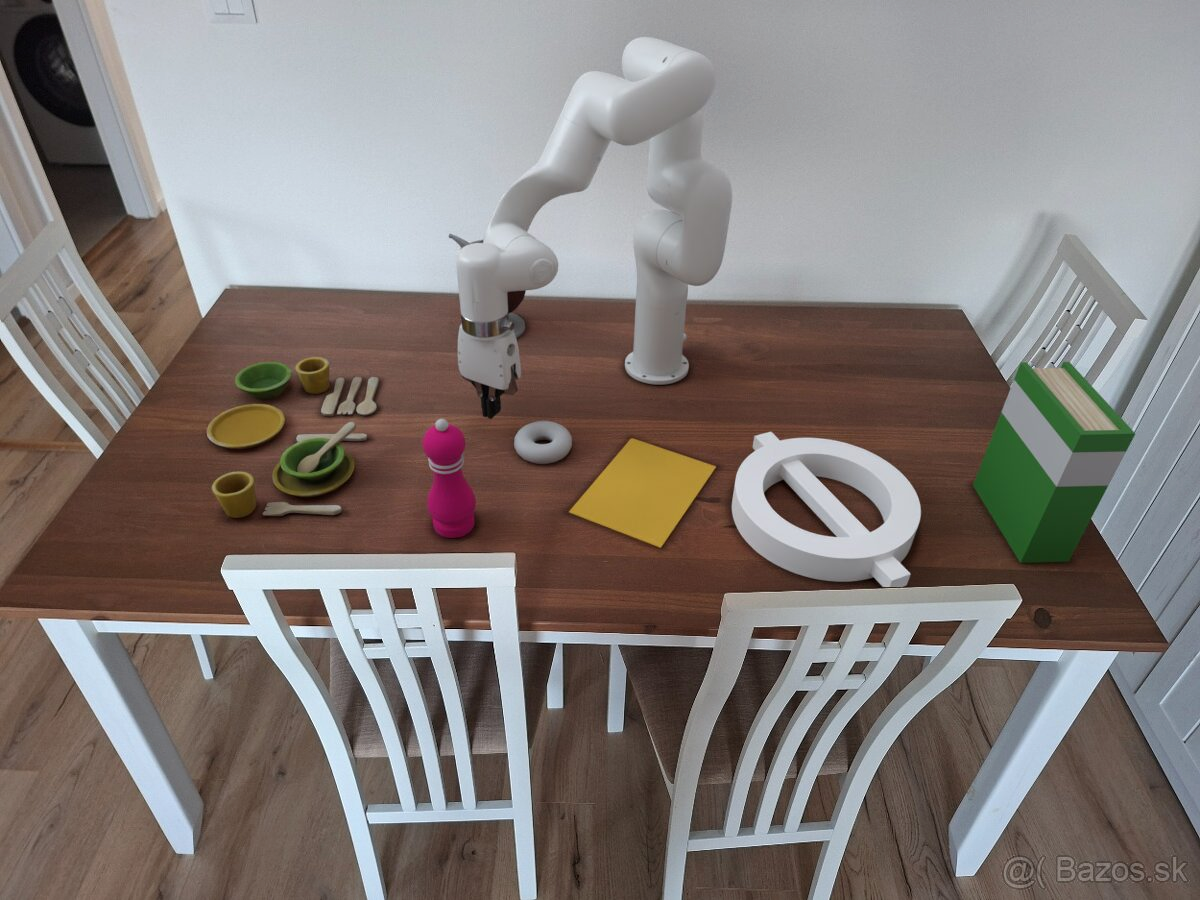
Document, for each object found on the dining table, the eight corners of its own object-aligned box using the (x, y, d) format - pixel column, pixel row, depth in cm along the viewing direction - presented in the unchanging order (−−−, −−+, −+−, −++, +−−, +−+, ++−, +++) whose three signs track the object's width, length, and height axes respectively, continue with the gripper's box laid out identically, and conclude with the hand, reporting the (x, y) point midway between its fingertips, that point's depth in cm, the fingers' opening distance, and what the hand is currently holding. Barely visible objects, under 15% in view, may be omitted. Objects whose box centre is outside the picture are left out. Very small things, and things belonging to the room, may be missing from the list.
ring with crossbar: (754, 444, 145) (757, 422, 142) (920, 484, 137) (927, 462, 134) (711, 550, 124) (714, 526, 122) (903, 604, 117) (912, 580, 114)
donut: (555, 475, 138) (582, 441, 145) (555, 459, 136) (581, 425, 143) (503, 458, 141) (531, 426, 148) (502, 442, 139) (530, 410, 146)
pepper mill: (469, 544, 125) (457, 438, 112) (423, 536, 126) (406, 431, 113) (484, 512, 130) (474, 408, 118) (440, 505, 131) (425, 401, 119)
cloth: (631, 438, 146) (631, 437, 146) (716, 467, 140) (716, 466, 140) (568, 512, 130) (568, 511, 130) (660, 548, 125) (660, 547, 124)
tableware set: (342, 522, 128) (335, 491, 124) (159, 524, 127) (145, 493, 123) (387, 375, 160) (382, 347, 156) (241, 376, 159) (232, 348, 155)
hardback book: (972, 485, 137) (1020, 362, 122) (1016, 484, 138) (1069, 361, 123) (1020, 562, 124) (1081, 434, 109) (1068, 561, 124) (1135, 433, 109)
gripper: (537, 322, 133) (539, 415, 144) (461, 300, 138) (469, 391, 150) (511, 343, 128) (515, 438, 139) (433, 319, 133) (443, 412, 145)
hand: (491, 413), depth 144 cm, fingers closed
